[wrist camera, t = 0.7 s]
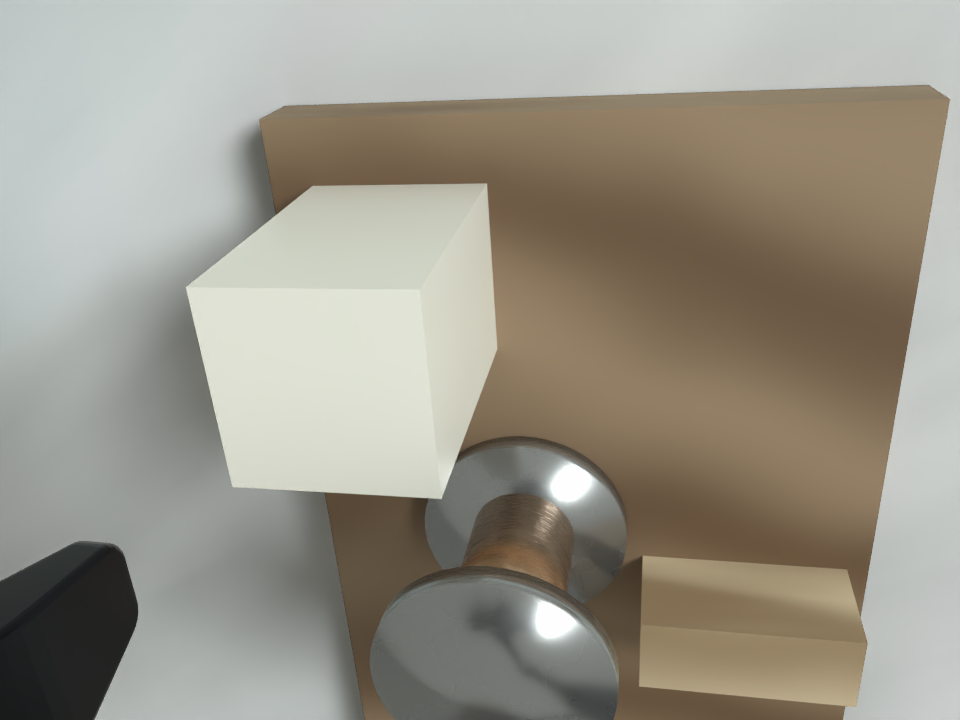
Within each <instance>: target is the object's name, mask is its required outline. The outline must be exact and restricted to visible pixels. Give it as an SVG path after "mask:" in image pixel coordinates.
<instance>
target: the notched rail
mask: <svg viewBox="0 0 960 720" xmlns="http://www.w3.org/2000/svg"><path fill="white" fill-rule="evenodd" d="M867 644H868V643H867V640H866V636H865V632H864V629H863V625H862V622H861V618H860V614H859V611H858V607H857V604H856V600H855V596H854V593H853V589H852V586H851V582H850V578H849V575H848V571H847V569H833V568H818V567H803V566H788V565H773V564H758V563H743V562H728V561H714V560H699V559H684V558H669V557H654V556H643V562H642V595H641V629H640V671H639V686H640V687H651V688H661V689H672V690H682V691H693V692H703V693H714V694H724V695H735V696H745V697H756V698H766V699H776V700H787V701H797V702H808V703H818V704H829V705H839V706H850V707H856V705H857V699H858V694H859V688H860V683H861V677H862V672H863V666H864V661H865V655H866V650H867Z"/></svg>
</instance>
